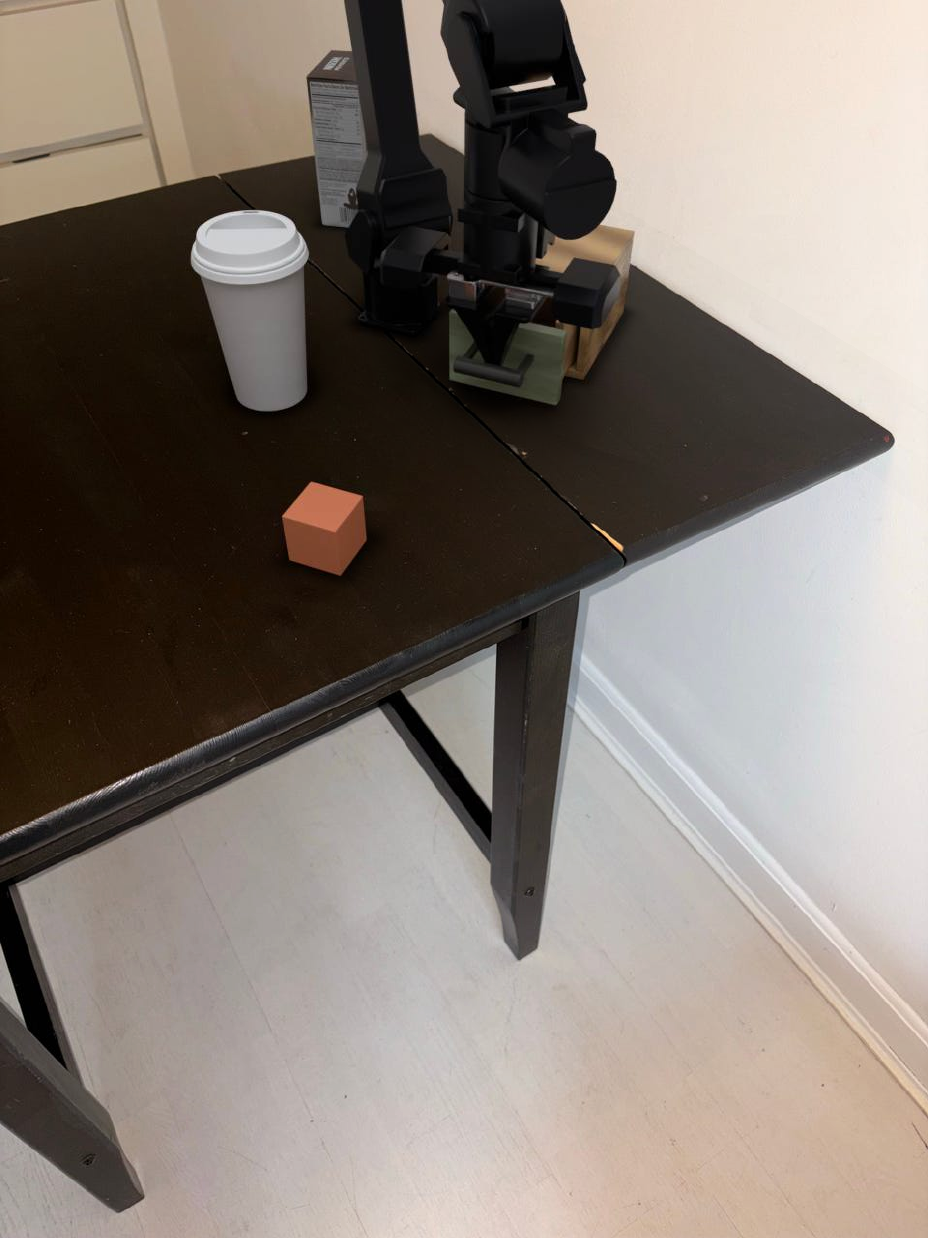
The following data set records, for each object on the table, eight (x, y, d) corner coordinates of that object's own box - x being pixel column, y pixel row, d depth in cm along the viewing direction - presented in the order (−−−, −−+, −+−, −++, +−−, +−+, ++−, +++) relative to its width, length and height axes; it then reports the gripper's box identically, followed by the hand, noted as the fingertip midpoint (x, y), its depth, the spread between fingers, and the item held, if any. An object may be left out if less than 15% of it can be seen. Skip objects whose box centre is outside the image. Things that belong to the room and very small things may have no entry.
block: (289, 560, 72) (281, 516, 69) (317, 525, 75) (311, 480, 72) (340, 576, 71) (335, 532, 68) (367, 539, 74) (363, 495, 71)
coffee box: (342, 193, 117) (330, 47, 105) (393, 198, 116) (386, 51, 105) (320, 226, 111) (304, 74, 99) (373, 231, 110) (364, 79, 98)
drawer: (540, 432, 82) (545, 362, 77) (430, 404, 85) (428, 335, 80) (597, 338, 93) (605, 271, 88) (498, 316, 95) (500, 250, 90)
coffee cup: (340, 374, 90) (325, 215, 79) (295, 430, 83) (272, 267, 72) (249, 355, 92) (222, 198, 81) (199, 408, 85) (162, 247, 75)
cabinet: (583, 380, 89) (593, 294, 83) (468, 353, 92) (470, 269, 86) (623, 312, 98) (634, 230, 92) (517, 290, 101) (522, 209, 95)
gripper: (651, 164, 73) (625, 345, 85) (430, 128, 78) (433, 304, 90) (611, 223, 66) (588, 412, 78) (370, 180, 71) (382, 364, 82)
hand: (495, 368), depth 82 cm, fingers closed, pressing on drawer
